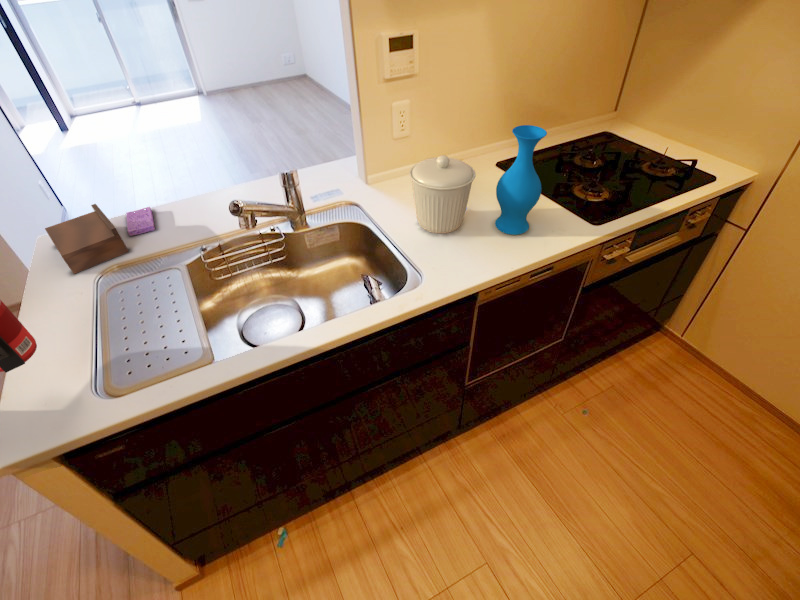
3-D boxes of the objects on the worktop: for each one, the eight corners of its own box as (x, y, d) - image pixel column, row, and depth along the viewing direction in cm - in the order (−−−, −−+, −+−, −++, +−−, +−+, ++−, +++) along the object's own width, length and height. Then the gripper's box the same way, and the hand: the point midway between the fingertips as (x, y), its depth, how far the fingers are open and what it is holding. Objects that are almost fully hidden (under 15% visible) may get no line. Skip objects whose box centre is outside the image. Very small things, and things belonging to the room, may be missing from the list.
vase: (491, 237, 121) (506, 140, 103) (490, 214, 131) (503, 121, 112) (534, 239, 120) (558, 142, 101) (530, 216, 130) (550, 122, 111)
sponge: (130, 236, 125) (127, 231, 124) (128, 217, 133) (125, 211, 132) (155, 230, 127) (153, 225, 126) (152, 211, 135) (149, 206, 134)
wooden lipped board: (74, 274, 112) (56, 249, 107) (56, 246, 122) (40, 222, 117) (129, 251, 119) (115, 227, 114) (108, 227, 129) (95, 203, 124)
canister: (467, 208, 133) (474, 142, 119) (472, 241, 120) (481, 171, 106) (409, 208, 134) (409, 142, 120) (408, 241, 121) (408, 171, 107)
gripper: (-53, 264, 53) (50, 375, 69) (-70, 203, 64) (22, 311, 80) (-134, 291, 49) (-6, 403, 65) (-137, 222, 61) (-27, 331, 76)
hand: (9, 352), depth 72 cm, fingers closed on canned food, 8 cm apart
